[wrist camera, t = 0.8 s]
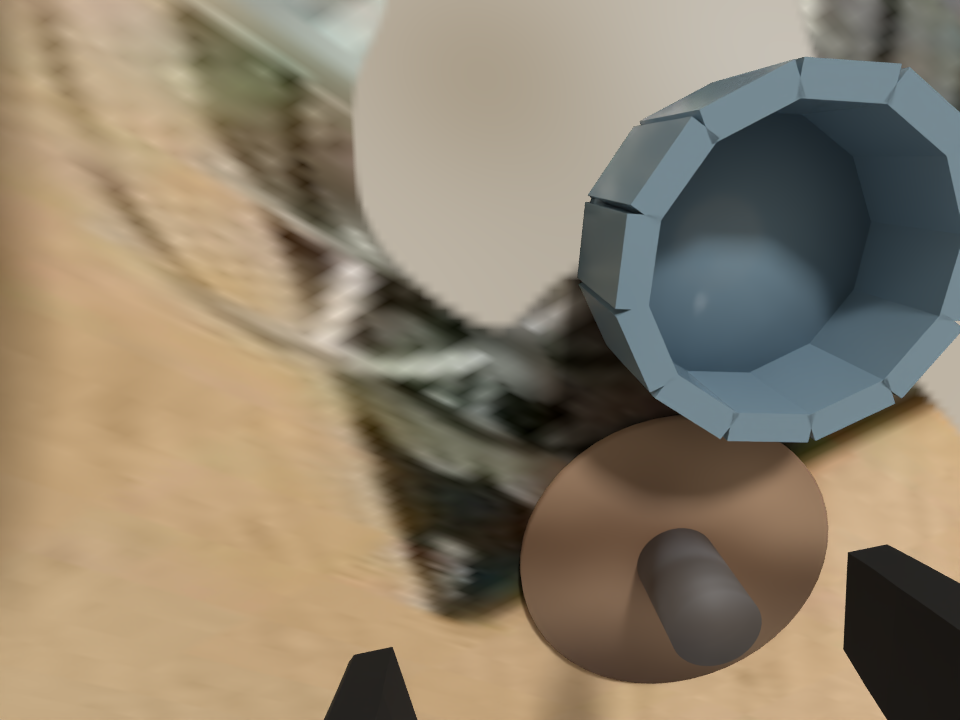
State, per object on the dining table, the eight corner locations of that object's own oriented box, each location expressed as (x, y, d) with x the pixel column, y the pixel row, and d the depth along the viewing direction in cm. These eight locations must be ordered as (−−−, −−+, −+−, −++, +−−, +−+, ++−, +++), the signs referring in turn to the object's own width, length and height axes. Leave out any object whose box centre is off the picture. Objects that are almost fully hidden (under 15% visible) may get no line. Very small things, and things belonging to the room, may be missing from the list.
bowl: (834, 389, 20) (928, 444, 16) (566, 383, 19) (598, 439, 15) (909, 93, 17) (1046, 74, 13) (598, 72, 16) (648, 46, 12)
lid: (779, 664, 24) (844, 758, 20) (508, 668, 23) (522, 768, 19) (846, 412, 20) (939, 469, 17) (530, 406, 20) (553, 464, 16)
